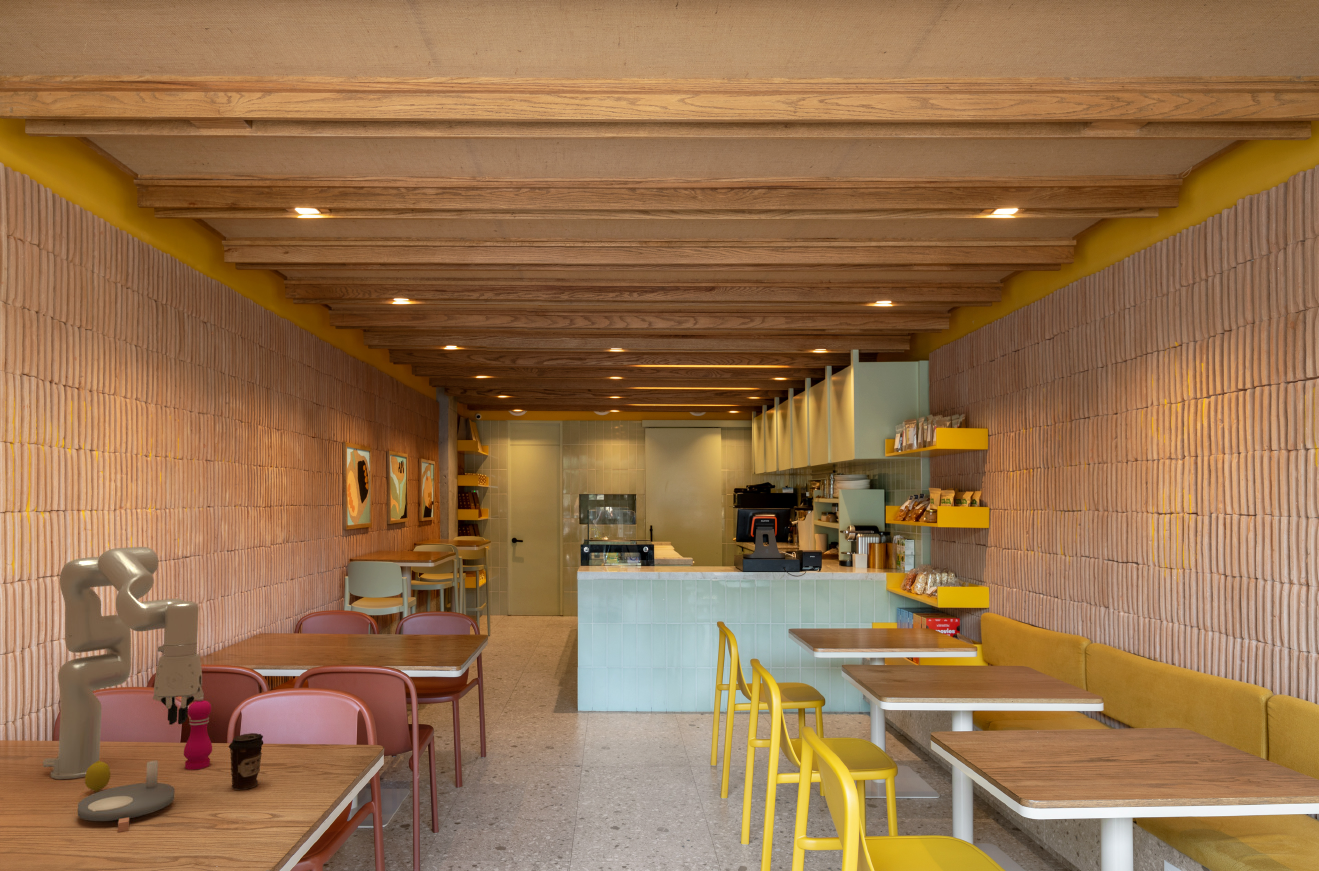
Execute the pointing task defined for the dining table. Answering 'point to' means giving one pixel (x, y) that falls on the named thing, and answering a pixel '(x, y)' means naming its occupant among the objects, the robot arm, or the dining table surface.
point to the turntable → (128, 799)
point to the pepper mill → (198, 736)
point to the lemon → (97, 776)
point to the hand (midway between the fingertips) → (177, 722)
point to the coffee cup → (245, 760)
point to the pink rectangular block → (123, 824)
